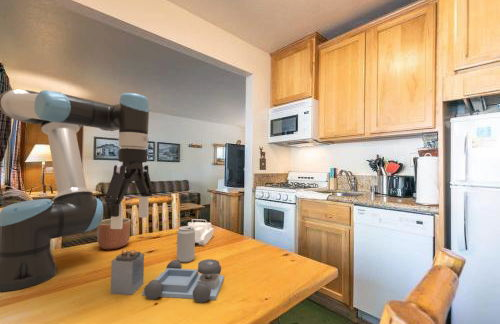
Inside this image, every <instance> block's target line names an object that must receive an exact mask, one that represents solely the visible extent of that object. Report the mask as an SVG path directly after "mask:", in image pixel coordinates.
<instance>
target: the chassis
mask: <svg viewBox="0 0 500 324" xmlns="http://www.w3.org/2000/svg"><path fill="white" fill-rule="evenodd" d="M221 272H222V266H221V265H220V263H219V271H218V272H216V273H214V274H210V277H207V274H201V273H199V272H198V269H194V268H193V269H189V268H183V267H182V262H180V261H178V260H177V259H173V260H171V261H170V262H168V264H167V265H166V269H165V270H164V271H163V272H161V273H160V274H159V275H158V276H157V277H156V278H155V279H152V280H151V281H149V282H148V283H147V284H146V285H145V287H144V289H143V291H142V293H141V294H142V296H144V297H145V298H146V299H148V300H151V301H154V300H157V299H158V298H173V299H174V298H175V299H188V300H189V299H190V300H191V299H192V300H195V302H197V303H201V304H202V303H205V302H207V301H216V300H217V299H218V295H219V293H220V290H221V288H222V285H223V283H224V280H225V275H222V274H221Z"/></svg>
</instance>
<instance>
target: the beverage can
mask: <svg viewBox="0 0 500 324" xmlns="http://www.w3.org/2000/svg"><path fill="white" fill-rule="evenodd" d="M176 232H177V234H176V235H177V237H176V260H177V261H179V262H180V263H190V262H193V260H194V259H195V258H196V257H195V255H196V254H195V253H196V252H195V249H196V247H195V246H196V243H195V230H194V227H192V226H188V225H183V226H179V227H178V230H177V231H176Z"/></svg>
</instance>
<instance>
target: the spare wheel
mask: <svg viewBox="0 0 500 324" xmlns="http://www.w3.org/2000/svg"><path fill="white" fill-rule="evenodd" d="M219 264H220V262H219V260H217V259H212V258H211V259H210V258H207V259H203V260H200V261H199V262H198V264H197V270H198V274H207V277H210V274H214V273H216V272H218V271H219Z"/></svg>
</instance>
